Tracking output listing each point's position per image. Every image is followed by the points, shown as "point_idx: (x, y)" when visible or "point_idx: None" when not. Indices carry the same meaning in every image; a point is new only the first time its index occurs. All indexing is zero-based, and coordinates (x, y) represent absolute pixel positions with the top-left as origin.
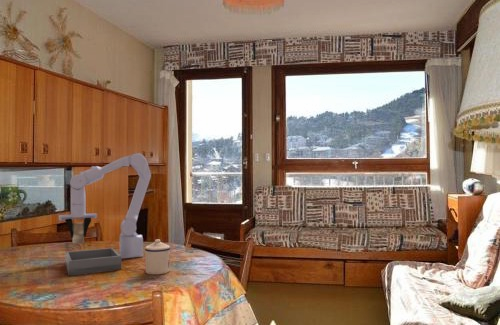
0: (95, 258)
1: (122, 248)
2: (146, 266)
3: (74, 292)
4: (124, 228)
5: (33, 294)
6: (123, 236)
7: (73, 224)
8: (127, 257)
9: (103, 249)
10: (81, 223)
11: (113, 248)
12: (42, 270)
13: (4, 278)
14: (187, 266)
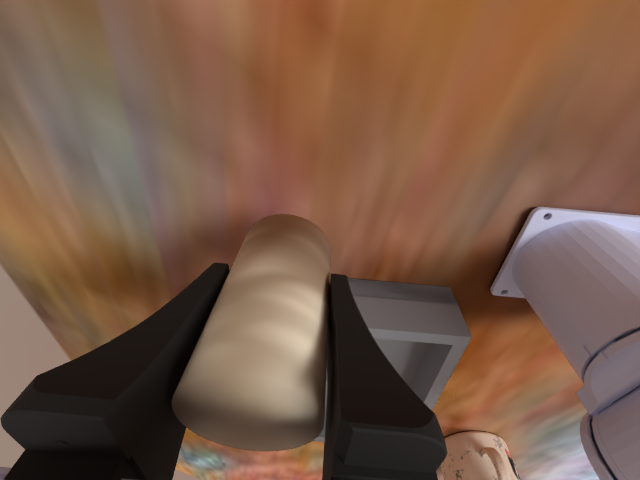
0: (322, 439)
1: (536, 312)
2: (441, 466)
3: (256, 463)
4: (614, 477)
5: (181, 447)
6: (578, 396)
7: (192, 423)
8: (522, 297)
9: (411, 339)
10: (288, 437)
11: (461, 352)
12: (151, 304)
13: (52, 335)
14: (571, 444)
